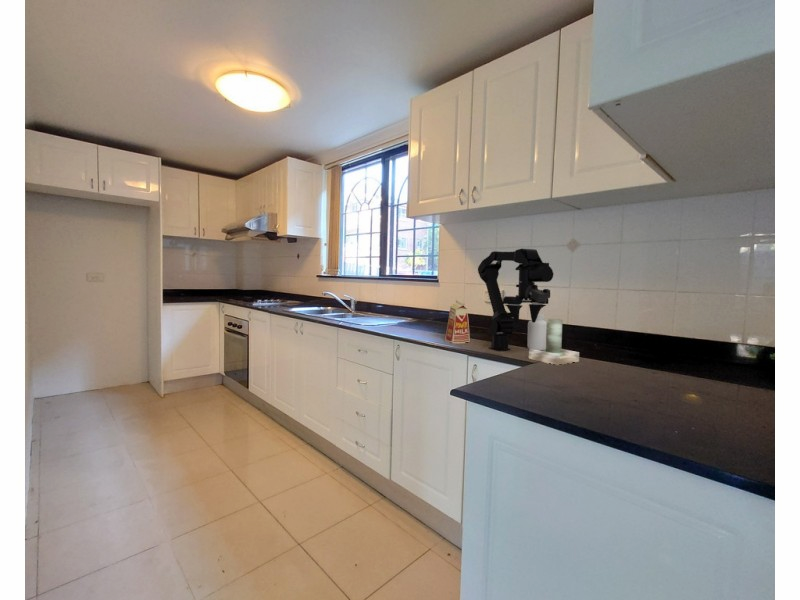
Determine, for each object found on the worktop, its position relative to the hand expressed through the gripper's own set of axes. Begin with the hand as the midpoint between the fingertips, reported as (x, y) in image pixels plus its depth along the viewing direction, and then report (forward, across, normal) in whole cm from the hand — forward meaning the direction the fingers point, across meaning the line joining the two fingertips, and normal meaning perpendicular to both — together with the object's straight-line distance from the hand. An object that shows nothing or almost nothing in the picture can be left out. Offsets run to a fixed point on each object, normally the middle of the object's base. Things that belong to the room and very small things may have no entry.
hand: (525, 322), depth 130 cm
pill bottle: (+13, +18, +9) cm, 24 cm away
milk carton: (+13, -3, +37) cm, 39 cm away
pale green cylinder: (+11, +5, -9) cm, 15 cm away
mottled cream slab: (+13, +5, -9) cm, 17 cm away
